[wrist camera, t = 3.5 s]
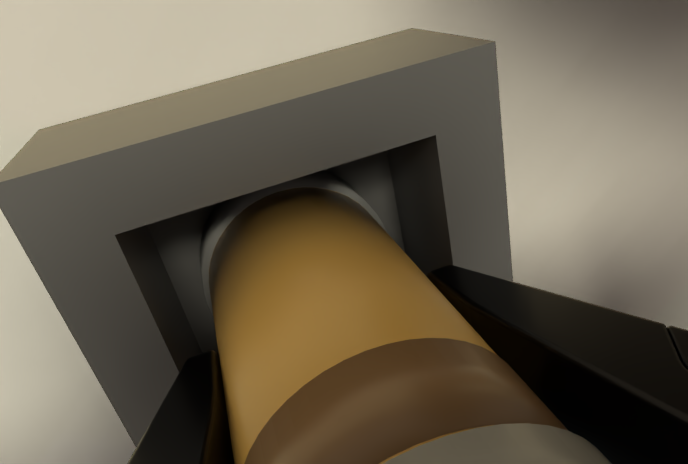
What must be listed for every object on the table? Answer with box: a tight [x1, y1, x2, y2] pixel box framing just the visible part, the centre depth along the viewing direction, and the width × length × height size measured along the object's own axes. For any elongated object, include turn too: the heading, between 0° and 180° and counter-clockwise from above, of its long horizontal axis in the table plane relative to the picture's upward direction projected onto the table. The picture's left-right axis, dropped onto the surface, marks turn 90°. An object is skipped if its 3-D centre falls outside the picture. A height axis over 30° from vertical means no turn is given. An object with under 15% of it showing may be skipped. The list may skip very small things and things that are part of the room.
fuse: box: [200, 170, 612, 464], centre depth 7 cm, size 4×4×8 cm
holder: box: [0, 28, 513, 448], centre depth 10 cm, size 7×7×3 cm
